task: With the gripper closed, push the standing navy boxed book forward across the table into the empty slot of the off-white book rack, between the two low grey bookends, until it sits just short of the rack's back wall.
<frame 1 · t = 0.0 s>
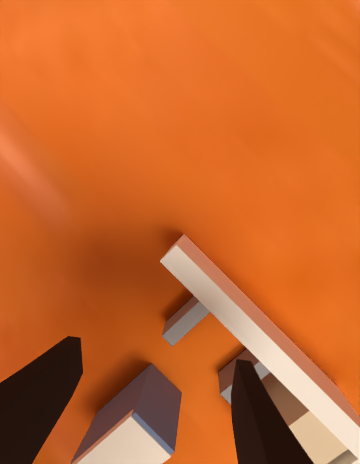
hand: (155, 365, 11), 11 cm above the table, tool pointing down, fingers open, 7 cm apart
boxed book: (138, 402, 23), on the table
book rack: (220, 345, 21), on the table
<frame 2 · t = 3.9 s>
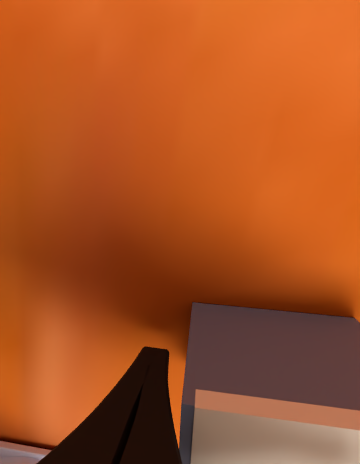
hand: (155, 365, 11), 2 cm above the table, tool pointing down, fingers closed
boxed book: (265, 342, 13), on the table, touching gripper
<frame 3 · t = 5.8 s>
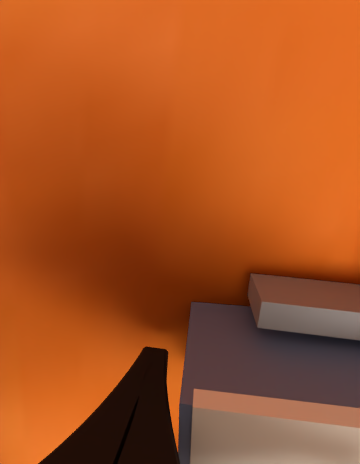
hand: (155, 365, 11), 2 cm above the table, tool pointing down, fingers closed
boxed book: (265, 340, 12), on the table, touching book rack, gripper
book rack: (274, 360, 13), on the table
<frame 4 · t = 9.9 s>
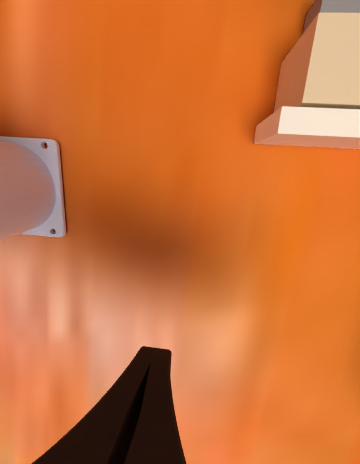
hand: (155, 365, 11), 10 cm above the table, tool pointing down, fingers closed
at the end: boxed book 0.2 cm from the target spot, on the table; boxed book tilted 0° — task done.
